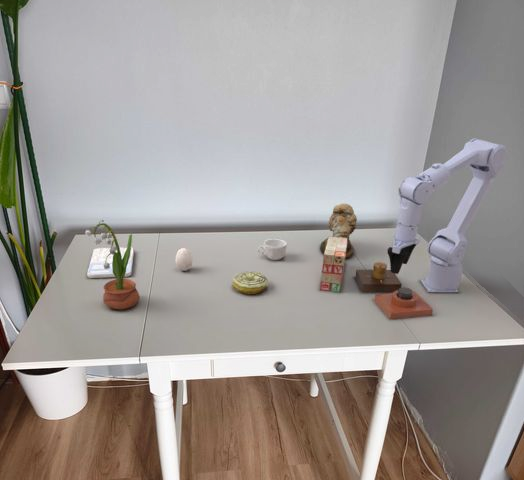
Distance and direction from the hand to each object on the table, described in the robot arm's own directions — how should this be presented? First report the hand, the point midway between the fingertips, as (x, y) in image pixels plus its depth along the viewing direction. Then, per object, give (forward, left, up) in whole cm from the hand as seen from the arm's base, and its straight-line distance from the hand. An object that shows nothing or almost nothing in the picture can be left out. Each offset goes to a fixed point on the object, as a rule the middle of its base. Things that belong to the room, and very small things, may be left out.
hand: (398, 267), depth 144 cm
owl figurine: (+10, -36, -11) cm, 39 cm away
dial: (+3, -9, -7) cm, 12 cm away
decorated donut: (+42, -7, -11) cm, 44 cm away
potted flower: (+80, +3, -11) cm, 81 cm away
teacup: (+34, -29, -11) cm, 46 cm away
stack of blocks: (+15, -15, -11) cm, 24 cm away
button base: (-2, +5, -10) cm, 12 cm away
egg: (+63, -19, -11) cm, 67 cm away
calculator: (+87, -23, -11) cm, 91 cm away
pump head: (-1, +5, -7) cm, 9 cm away
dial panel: (+2, -9, -10) cm, 14 cm away
